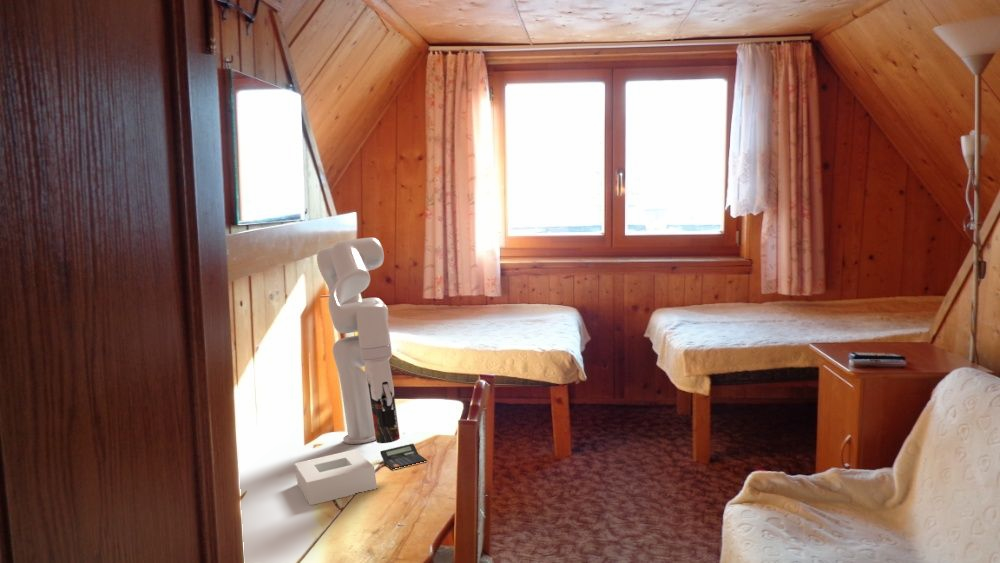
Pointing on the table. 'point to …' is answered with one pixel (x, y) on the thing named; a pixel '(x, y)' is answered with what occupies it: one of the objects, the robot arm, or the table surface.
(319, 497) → the socket board
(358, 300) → the robot arm
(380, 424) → the deodorant
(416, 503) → the table surface
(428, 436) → the table surface
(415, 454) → the calculator
